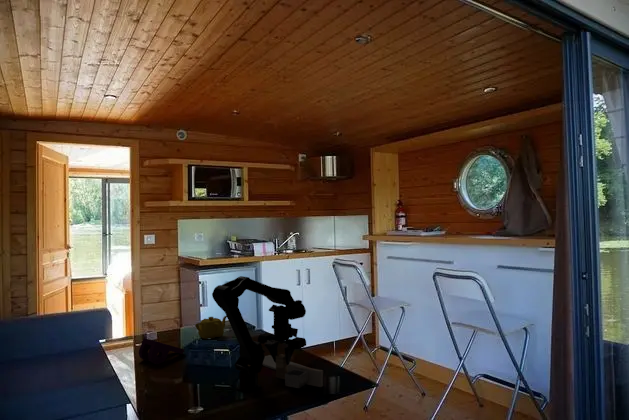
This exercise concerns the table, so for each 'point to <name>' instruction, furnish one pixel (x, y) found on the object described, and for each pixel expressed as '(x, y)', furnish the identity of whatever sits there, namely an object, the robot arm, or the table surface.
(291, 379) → the square open holder
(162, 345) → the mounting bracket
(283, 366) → the rail post
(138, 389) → the table surface
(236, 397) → the table surface
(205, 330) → the teapot
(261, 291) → the robot arm
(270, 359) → the baseboard molding
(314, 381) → the board
